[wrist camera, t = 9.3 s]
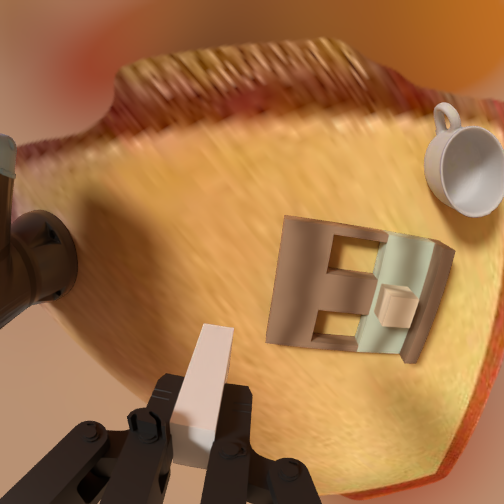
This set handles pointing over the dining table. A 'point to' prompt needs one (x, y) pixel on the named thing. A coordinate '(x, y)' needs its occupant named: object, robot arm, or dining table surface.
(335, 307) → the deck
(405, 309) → the block
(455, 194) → the teacup
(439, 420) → the dining table surface
